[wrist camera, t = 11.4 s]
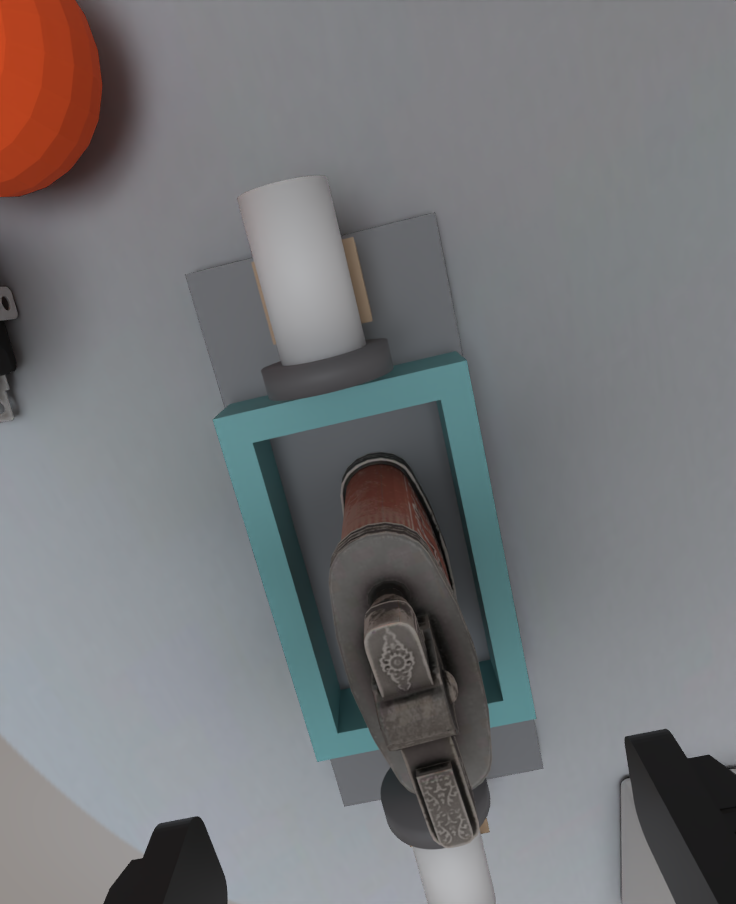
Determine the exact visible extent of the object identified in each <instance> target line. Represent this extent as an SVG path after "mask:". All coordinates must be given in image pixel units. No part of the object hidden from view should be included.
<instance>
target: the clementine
mask: <svg viewBox="0 0 736 904" xmlns="http://www.w3.org/2000/svg"><path fill="white" fill-rule="evenodd" d="M101 95H102V79H101V71H100V63H99V55H98V49H97V46H96V44H95V41H94V38H93V35H92V33H91V30H90V27H89V24H88V22H87V19H86V16H85V15H84V13H83V11H82V10H81V8H80V7H79V5H78V4H77V2H76V1H75V0H0V197H17V196H22V195H25V194H28V193H31V192H34V191H37V190H40V189H43V188H46V187H47V186H49V185H50V184H52V183H53V182H54V181H56V180H57V179H58V178H60V177H61V176H63V175H64V174H65V173H67V172H68V171H69V170H70V169H71V168H72V167H73V166H74V164H75V163H76V162H77V160H78V159H79V158H80V156H81V155H82V154H83V152H84V151H85V150H86V148H87V147H88V146H89V144H90V141H91V139H92V136H93V134H94V131H95V128H96V126H97V123H98V121H99V113H100V104H101Z"/></svg>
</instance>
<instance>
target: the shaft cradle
mask: <svg viewBox="0 0 736 904" xmlns="http://www.w3.org/2000/svg"><path fill="white" fill-rule="evenodd" d="M237 200H238V204H239V208H240V212H241V215H242V219H243V223H244V226H245V230H246V234H247V237H248V241H249V245H250V248H251V252H252V256H253V258H250V259H246V260H242V261H238V262H234V263H229V264H225V265H221V266H217V267H213V268H209V269H205V270H201V271H197V272H193V273H189V274H185V276H186V280H187V283H188V286H189V290H190V293H191V296H192V300H193V303H194V306H195V310H196V313H197V316H198V320H199V323H200V326H201V330H202V333H203V336H204V340H205V343H206V346H207V350H208V353H209V356H210V360H211V363H212V366H213V370H214V373H215V376H216V380H217V383H218V386H219V390H220V393H221V396H222V400H223V403H224V406H225V409H224V410H223V411H222V412H220V413H219V414H218V415H217V416H216V417H215V418H214V419H213V422H214V426H215V429H216V432H217V436H218V439H219V442H220V445H221V449H222V452H223V455H224V458H225V462H226V465H227V468H228V471H229V475H230V478H231V481H232V485H233V488H234V491H235V494H236V498H237V501H238V504H239V507H240V511H241V514H242V517H243V520H244V524H245V527H246V530H247V534H248V537H249V540H250V543H251V547H252V550H253V553H254V556H255V560H256V563H257V566H258V569H259V573H260V576H261V579H262V582H263V586H264V589H265V592H266V596H267V599H268V602H269V605H270V609H271V612H272V615H273V618H274V622H275V625H276V628H277V631H278V635H279V638H280V641H281V645H282V648H283V651H284V654H285V658H286V661H287V664H288V667H289V671H290V674H291V677H292V680H293V684H294V687H295V690H296V694H297V697H298V700H299V703H300V707H301V710H302V713H303V716H304V720H305V723H306V726H307V729H308V733H309V736H310V739H311V742H312V746H313V749H314V752H315V756H316V759H317V762H319V761H324V760H329V759H330V760H331V764H332V767H333V770H334V774H335V777H336V780H337V784H338V787H339V790H340V794H341V797H342V800H343V804H344V807H345V806H350V805H355V804H360V803H366V802H371V801H376V800H381V801H382V805H383V808H384V812H385V815H386V819H387V822H388V825H389V827H390V829H391V831H392V832H393V833H394V834H395V835H396V837H397V838H399V839H400V840H401V841H403V842H404V843H406V844H408V845H410V847H413V851H414V854H415V858H416V862H417V865H418V869H419V873H420V876H421V880H422V884H423V887H424V891H425V895H426V899H427V902H428V904H496V898H495V893H494V888H493V884H492V880H491V876H490V871H489V867H488V863H487V858H486V854H485V850H484V846H483V841H482V837H481V834H483V833H488V832H490V831H489V827H488V822H487V818H486V817H487V815H488V812H489V808H490V794H489V789H488V785H487V780H486V779H491V778H497V777H502V776H507V775H512V774H518V773H523V772H528V771H533V770H539V769H544V768H543V763H542V758H541V753H540V748H539V743H538V738H537V732H536V727H535V722H534V719H536V715H535V709H534V704H533V699H532V694H531V689H530V684H529V678H528V673H527V668H526V663H525V658H524V653H523V648H522V642H521V637H520V632H519V627H518V622H517V617H516V612H515V606H514V601H513V596H512V591H511V586H510V581H509V575H508V570H507V565H506V560H505V555H504V550H503V545H502V539H501V534H500V529H499V524H498V519H497V514H496V509H495V503H494V498H493V493H492V488H491V483H490V478H489V472H488V467H487V462H486V457H485V452H484V447H483V442H482V436H481V431H480V426H479V421H478V416H477V411H476V406H475V400H474V395H473V390H472V385H471V380H470V375H469V369H468V364H467V360H466V359H465V358H463V354H462V349H461V343H460V338H459V333H458V328H457V323H456V318H455V313H454V308H453V303H452V297H451V292H450V287H449V282H448V277H447V272H446V267H445V262H444V256H443V251H442V246H441V241H440V236H439V231H438V226H437V221H436V216H435V212H434V213H430V214H426V215H422V216H418V217H414V218H410V219H406V220H402V221H398V222H394V223H390V224H386V225H382V226H378V227H374V228H370V229H366V230H362V231H358V232H354V233H350V234H346V235H342V236H341V235H340V230H339V226H338V222H337V218H336V213H335V209H334V205H333V200H332V196H331V192H330V188H329V183H328V179H327V177H326V176H321V175H315V176H305V177H298V178H293V179H288V180H283V181H279V182H275V183H271V184H268V185H264V186H261V187H258V188H255V189H252V190H250V191H248V192H245V193H243V194H241V195H240V196H239V197H238V198H237ZM375 452H386V453H393V454H395V455H397V456H399V457H401V458H403V459H404V460H405V461H406V462H407V464H408V465H409V466H410V467H411V469H412V471H413V473H414V475H415V476H416V478H417V480H418V482H419V484H420V486H421V488H422V489H423V491H424V493H425V495H426V497H427V499H428V501H429V502H430V505H431V507H432V510H433V513H434V515H435V518H436V520H437V523H438V525H439V528H440V531H441V533H442V536H443V538H444V541H445V544H446V548H447V552H448V556H449V561H450V565H451V570H452V575H453V579H454V584H455V588H456V596H457V602H458V605H459V607H460V610H461V612H462V615H463V617H464V620H465V622H466V625H467V628H468V630H469V633H470V635H471V638H472V640H473V643H474V647H475V650H476V654H477V657H478V662H479V667H480V671H481V676H482V681H483V685H484V690H485V694H486V699H487V704H488V708H489V719H490V732H491V746H492V764H491V769H490V772H489V773H488V775H487V776H486V778H485V779H484V781H483V782H482V783H481V784H480V785H478V786H477V787H476V788H474V789H473V790H472V791H473V796H474V801H475V806H476V811H477V816H478V821H479V828H480V830H479V833H478V835H477V836H476V837H475V838H474V839H473V840H472V841H471V842H470V843H468V844H466V845H463V846H459V847H454V848H445V847H443V846H442V845H439V844H438V843H436V842H435V841H434V840H433V838H432V836H431V835H430V832H429V829H428V826H427V824H426V821H425V818H424V815H423V812H422V810H421V807H420V804H419V801H418V798H417V795H416V794H414V793H412V792H410V791H408V790H407V789H406V788H405V787H404V786H403V785H402V784H401V783H400V781H399V780H398V778H397V777H396V775H395V773H394V772H393V770H392V769H391V767H390V765H389V764H388V762H387V761H386V759H385V758H384V756H383V754H382V753H381V751H380V750H379V748H378V746H377V745H376V743H375V742H374V740H373V738H372V736H371V734H370V731H369V729H368V727H367V725H366V723H365V720H364V718H363V716H362V714H361V712H360V710H359V707H358V705H357V703H356V701H355V699H354V696H353V694H352V692H351V689H350V685H349V682H348V678H347V675H346V671H345V668H344V664H343V660H342V657H341V653H340V650H339V646H338V642H337V639H336V633H335V626H334V619H333V611H332V604H331V597H330V590H329V572H330V564H331V557H332V554H333V553H334V551H335V549H336V547H337V545H338V543H339V542H340V541H341V535H342V526H343V511H342V504H341V496H340V494H341V484H342V477H343V475H344V473H345V471H346V469H347V467H348V466H349V465H350V464H352V463H353V462H354V461H355V460H356V459H357V458H359V457H362V456H364V455H366V454H368V453H375Z"/></svg>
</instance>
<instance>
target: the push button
mask: <svg viewBox="0 0 736 904" xmlns="http://www.w3.org/2000/svg"><path fill="white" fill-rule="evenodd" d="M2 296H3V297H4V298H5V299H6V300H7V302H8V310H6V309H5V308H4V307H3V305H2V301H1V298H2ZM17 315H18V313H17V309H16V306H15V303H14V299H13V296H12V293H11V291H10V290H9V288H8V287H0V403H1V404H3V405H4V407H5V411H4V413H2V414H0V422H6V421H12V420H13V419H14V415H13V412H12V408H11V405H10V402H9V399H8V395H7V392H6V390H10V388H9V385H8V382H7V378H6V374H9V373H10V372H14V371H15V370H16V367H17V366H16V360H15V357H14V353H13V350H12V347H11V344H10V340H9V337H8V334H7V330H6V327H5V324H4V321H3V320H11V319H17Z"/></svg>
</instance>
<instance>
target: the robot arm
mask: <svg viewBox="0 0 736 904" xmlns="http://www.w3.org/2000/svg"><path fill="white" fill-rule="evenodd" d="M625 749H626V755H627V761H628V767H629V774H630V780H631V786H632V793H633V799H634V804H635V809H636V813H637V816H638V819H639V823H640V826H641V828H642V831H643V834H644V836H645V839H646V841H647V843H648V846H649V848H650V850H651V852H652V854H653V856H654V858H655V861H656V863H657V865H658V867H659V869H660V871H661V873H662V875H663V877H664V880H665V882H666V884H667V886H668V888H669V890H670V892H671V894H672V897H673V899H674V901H675V903H676V904H736V774H735V773H734V772H732V771H731V770H729V769H728V768H727V767H725V766H724V765H723V764H721V763H720V762H718V761H717V760H716V759H714V758H713V757H712V756H710V755H704V756H699V757H694V758H688V759H687V757H686V756H685V754H684V752H683V751H682V749H681V748H680V746H679V745H678V743H677V741H676V740H675V738H674V737H673V735H672V734H671V732H670V731H669V730H667V729H663V730H657V731H652V732H647V733H642V734H636V735H631V736H626V737H625ZM104 904H227V885H226V879H225V876H224V873H223V870H222V868H221V865H220V863H219V860H218V858H217V855H216V852H215V850H214V847H213V845H212V842H211V840H210V837H209V835H208V832H207V830H206V827H205V825H204V822H203V821H202V819H201V818H200V817H198V816H197V817H191V818H186V819H180V820H175V821H170V822H165V823H160V824H158V825H157V826H156V828H155V829H154V831H153V833H152V836H151V838H150V841H149V844H148V846H147V849H146V851H145V854H144V856H143V858H142V859H136V860H132V861H131V862H130V863H129V864H128V866H127V867H126V868H125V870H124V871H123V872H122V873H121V875H120V876H119V877H118V879H117V880H116V881H115V883H114V884H113V885H112V886H111V888H110V889H109V892H108V894H107V896H106V899H105V901H104Z"/></svg>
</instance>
